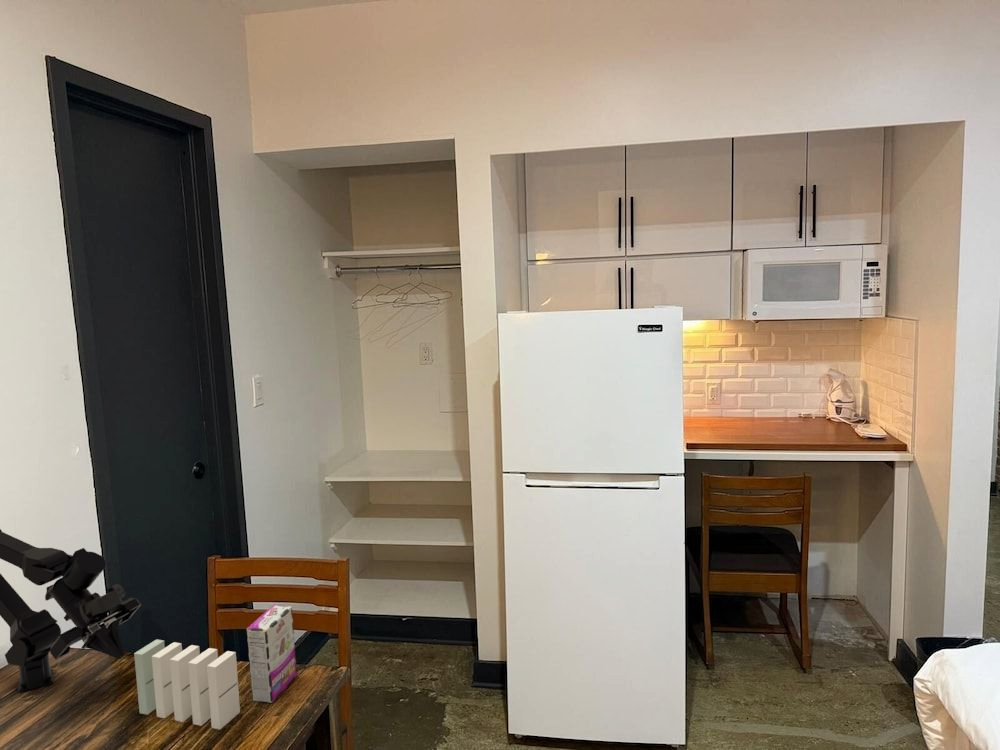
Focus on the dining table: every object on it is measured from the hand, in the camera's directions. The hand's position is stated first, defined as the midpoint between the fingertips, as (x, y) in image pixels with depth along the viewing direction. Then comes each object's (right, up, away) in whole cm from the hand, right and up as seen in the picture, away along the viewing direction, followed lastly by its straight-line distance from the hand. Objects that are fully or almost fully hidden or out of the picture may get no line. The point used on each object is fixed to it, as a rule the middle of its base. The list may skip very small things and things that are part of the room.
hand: (122, 657), depth 149 cm
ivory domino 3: (+20, -10, -5) cm, 23 cm away
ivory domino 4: (+25, -10, -7) cm, 27 cm away
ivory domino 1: (+12, -10, -3) cm, 15 cm away
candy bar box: (+31, -9, +4) cm, 32 cm away
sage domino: (+7, -10, -1) cm, 12 cm away
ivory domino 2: (+16, -10, -4) cm, 19 cm away
